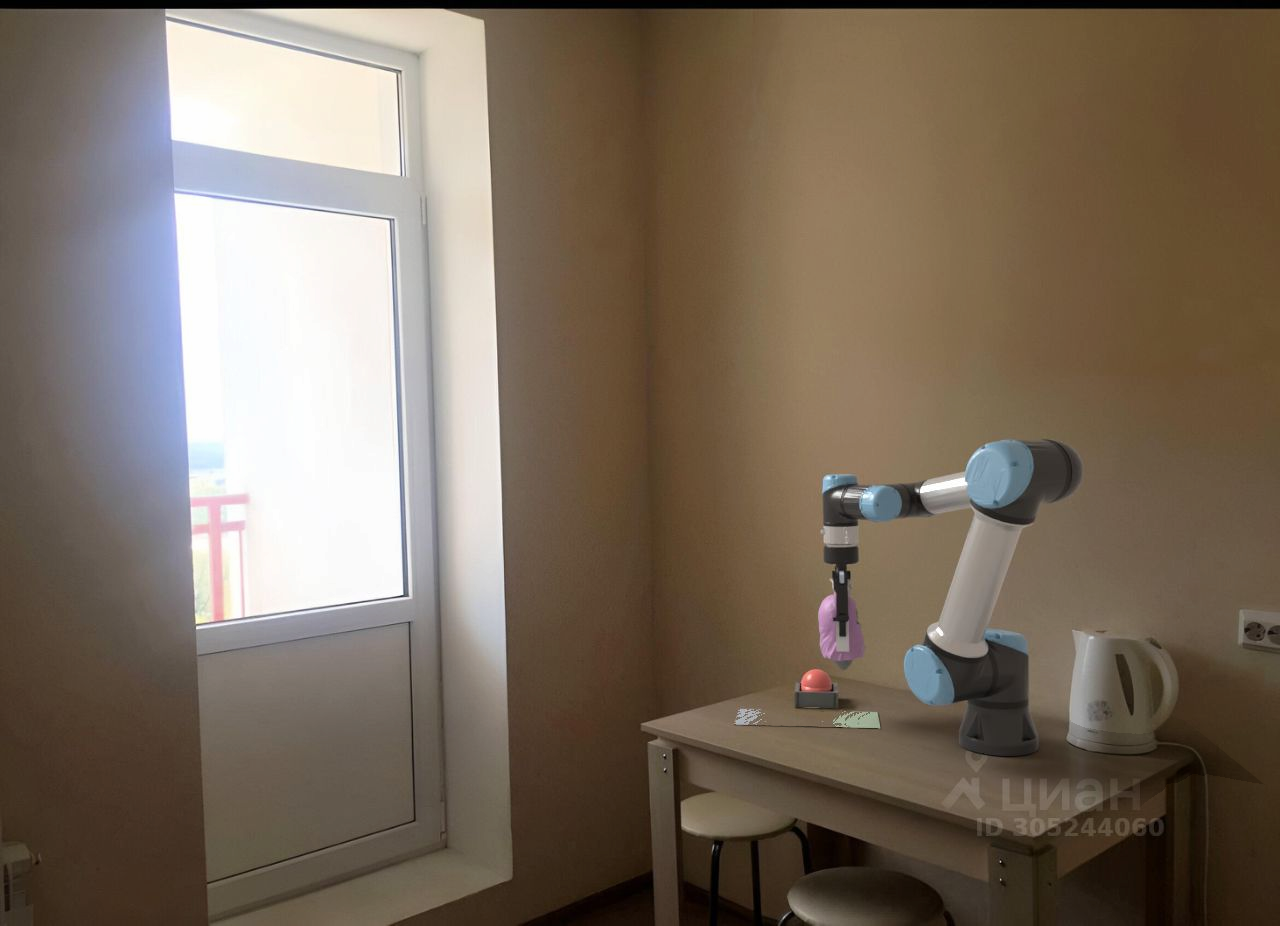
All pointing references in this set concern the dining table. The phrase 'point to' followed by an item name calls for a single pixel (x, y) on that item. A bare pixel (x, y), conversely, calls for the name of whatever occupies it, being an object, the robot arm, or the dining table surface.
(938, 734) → the dining table surface
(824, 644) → the toy character
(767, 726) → the dining table surface
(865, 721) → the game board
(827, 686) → the dome button
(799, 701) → the dome housing
